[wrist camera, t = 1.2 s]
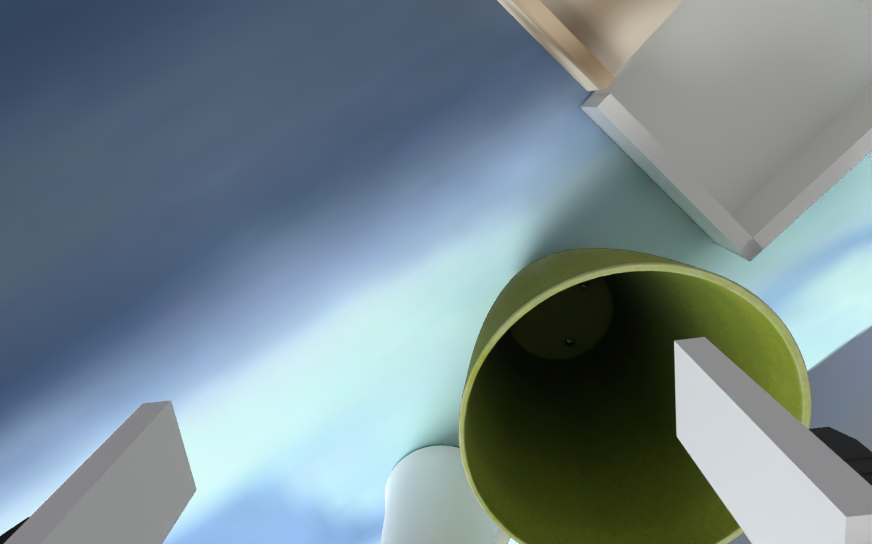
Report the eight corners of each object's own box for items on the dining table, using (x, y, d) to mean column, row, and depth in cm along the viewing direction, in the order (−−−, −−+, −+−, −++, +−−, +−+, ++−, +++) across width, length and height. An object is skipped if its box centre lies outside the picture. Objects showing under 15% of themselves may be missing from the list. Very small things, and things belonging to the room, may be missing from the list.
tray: (579, 106, 37) (597, 107, 33) (783, -111, 34) (833, -143, 29) (716, 243, 39) (750, 261, 35) (920, 53, 36) (985, 46, 31)
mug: (473, 394, 42) (483, 502, 31) (553, 467, 44) (592, 596, 32) (362, 493, 45) (333, 629, 33) (442, 560, 46) (441, 711, 35)
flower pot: (687, 202, 38) (848, 269, 23) (657, 408, 43) (778, 581, 27) (457, 196, 39) (465, 257, 23) (449, 402, 43) (452, 570, 27)
